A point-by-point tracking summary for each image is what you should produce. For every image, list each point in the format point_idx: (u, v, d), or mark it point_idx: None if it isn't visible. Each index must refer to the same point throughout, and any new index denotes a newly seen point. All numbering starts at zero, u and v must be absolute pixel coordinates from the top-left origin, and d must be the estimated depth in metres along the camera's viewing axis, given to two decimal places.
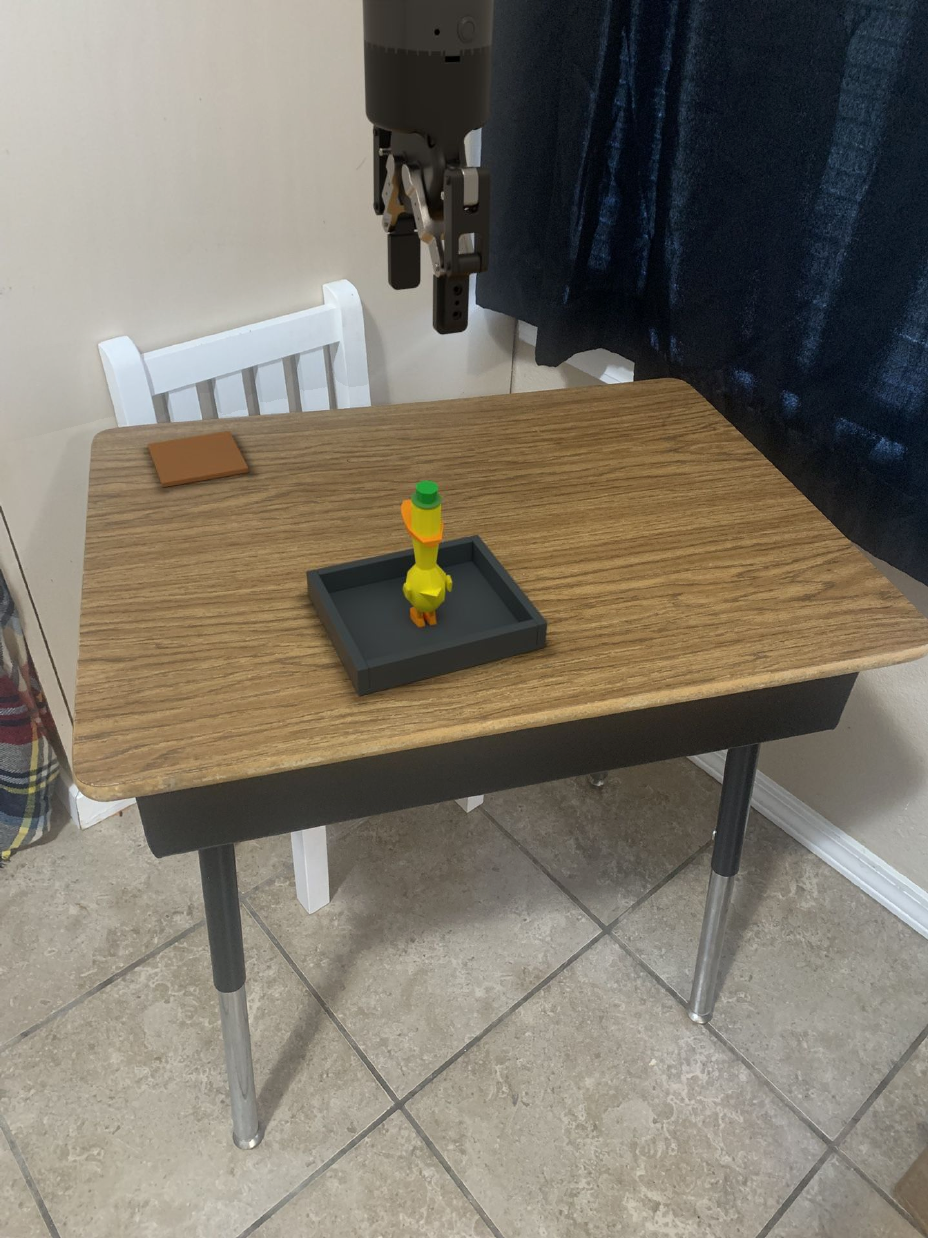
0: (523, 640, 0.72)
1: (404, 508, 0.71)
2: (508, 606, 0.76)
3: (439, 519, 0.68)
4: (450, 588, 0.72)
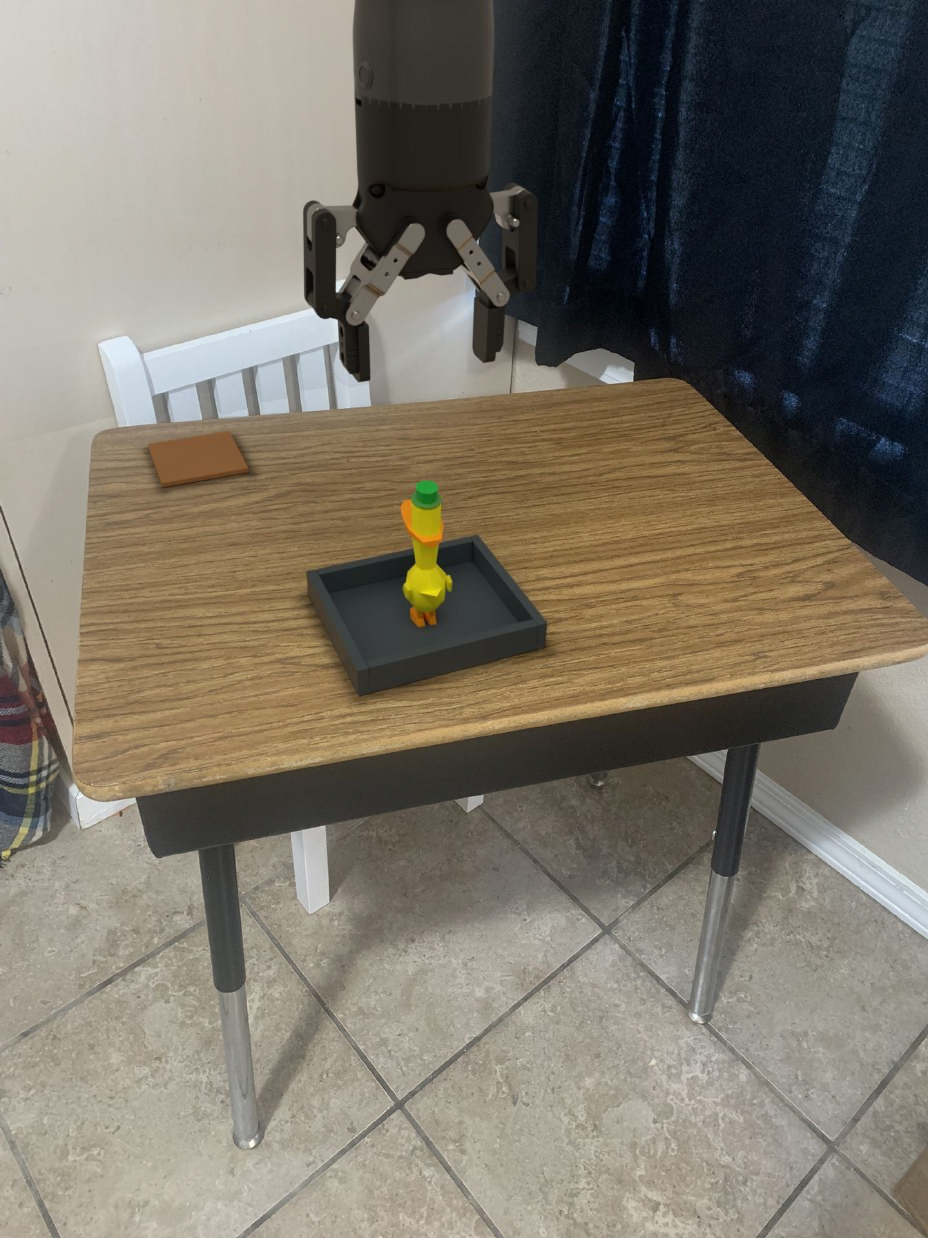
0: (523, 640, 0.72)
1: (404, 508, 0.71)
2: (508, 606, 0.76)
3: (439, 519, 0.68)
4: (450, 588, 0.72)
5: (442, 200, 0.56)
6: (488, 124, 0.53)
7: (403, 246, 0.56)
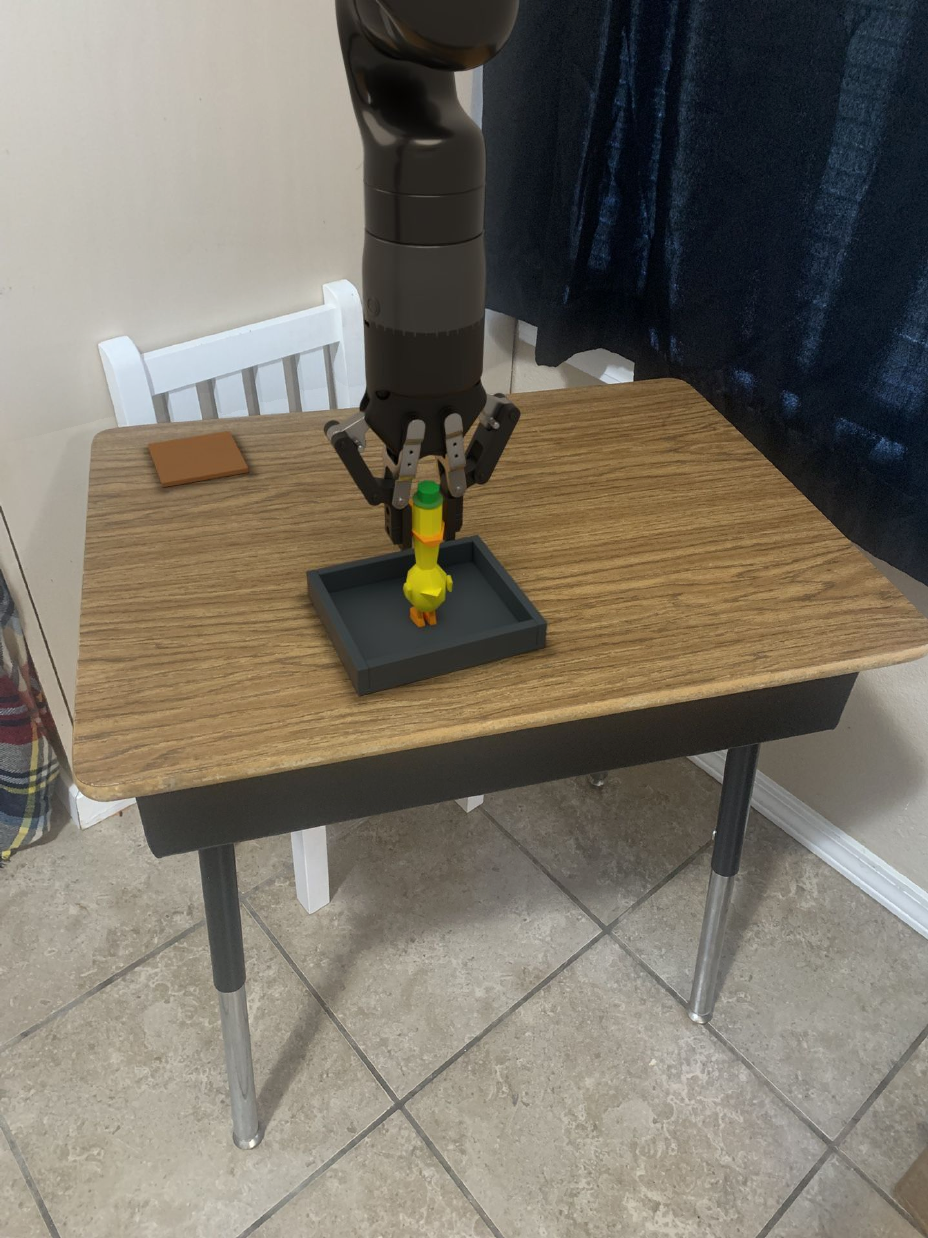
0: (523, 640, 0.72)
1: None
2: (508, 606, 0.76)
3: (440, 519, 0.68)
4: (450, 588, 0.72)
5: None
6: (481, 339, 0.60)
7: (406, 438, 0.63)
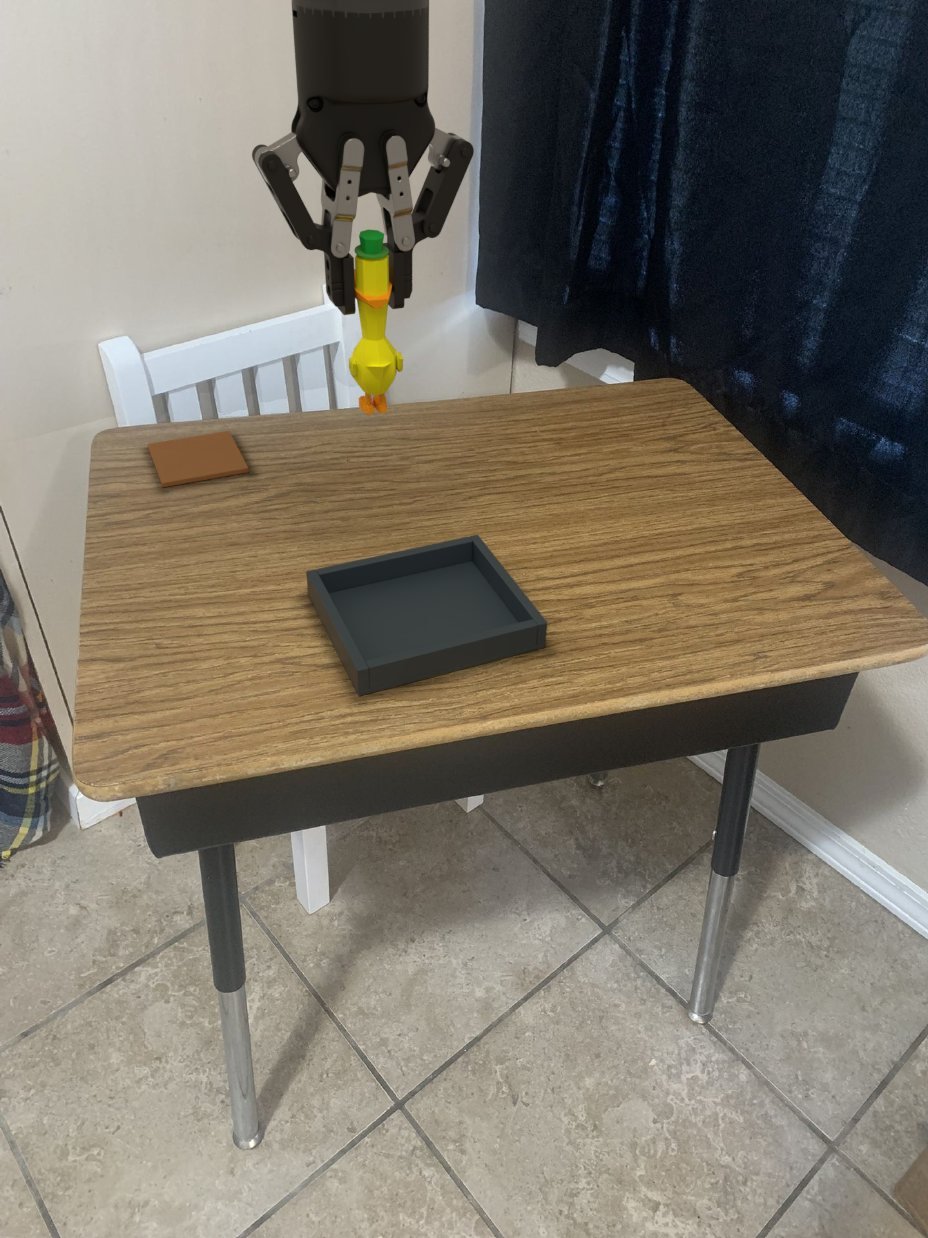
0: (523, 640, 0.72)
1: None
2: (508, 606, 0.76)
3: (386, 275, 0.62)
4: (401, 366, 0.66)
5: (382, 116, 0.56)
6: (424, 37, 0.54)
7: (342, 161, 0.56)
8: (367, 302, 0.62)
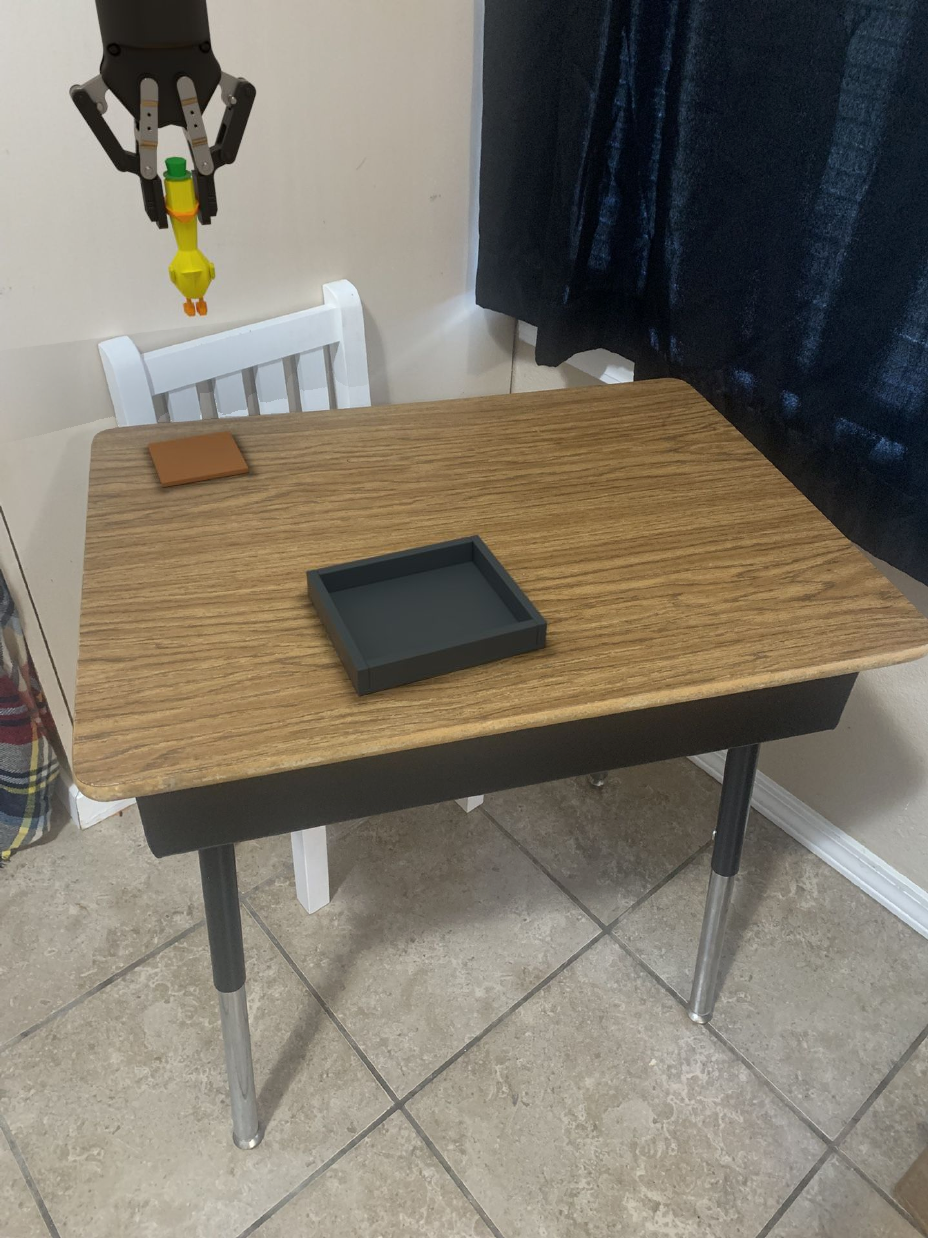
0: (523, 640, 0.72)
1: None
2: (508, 606, 0.76)
3: (190, 195, 0.75)
4: (213, 274, 0.79)
5: (172, 60, 0.70)
6: None
7: (140, 97, 0.70)
8: (175, 217, 0.75)
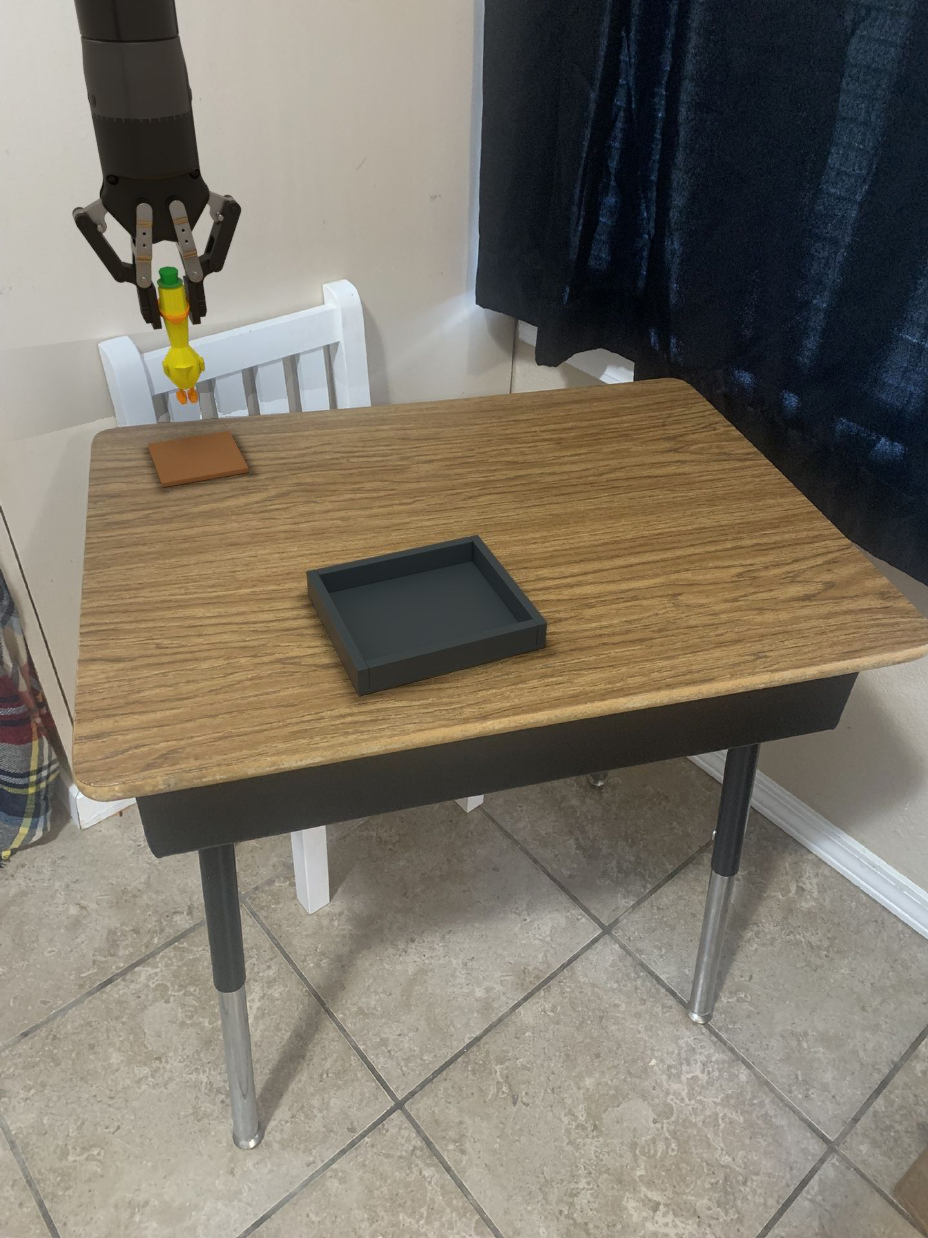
0: (523, 640, 0.72)
1: None
2: (508, 606, 0.76)
3: (182, 300, 0.83)
4: (203, 367, 0.87)
5: (165, 186, 0.78)
6: (187, 132, 0.75)
7: (136, 219, 0.77)
8: (168, 320, 0.83)
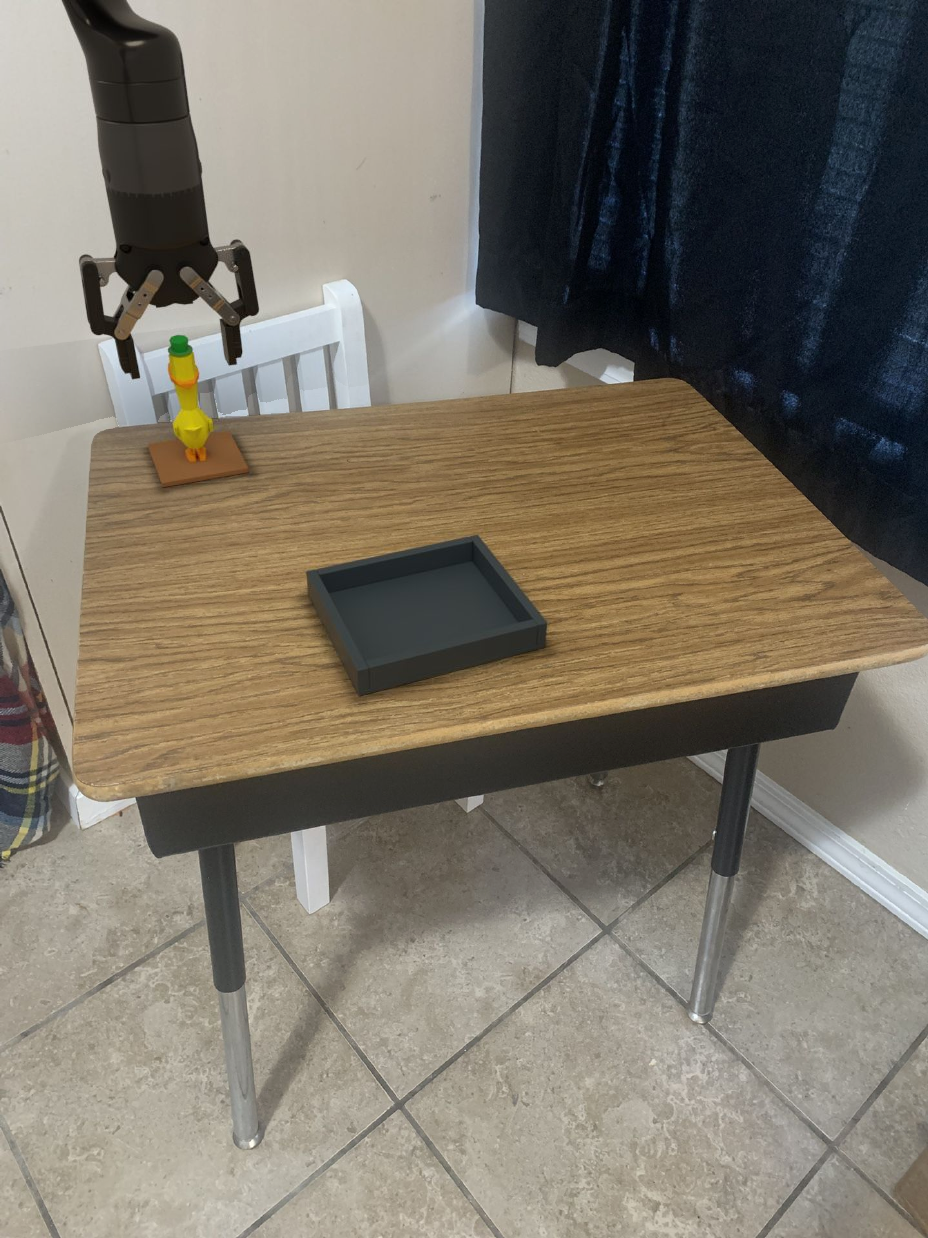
0: (523, 640, 0.72)
1: None
2: (508, 606, 0.76)
3: (192, 366, 0.87)
4: (211, 428, 0.91)
5: (176, 253, 0.81)
6: (197, 204, 0.78)
7: (148, 285, 0.81)
8: (179, 385, 0.87)
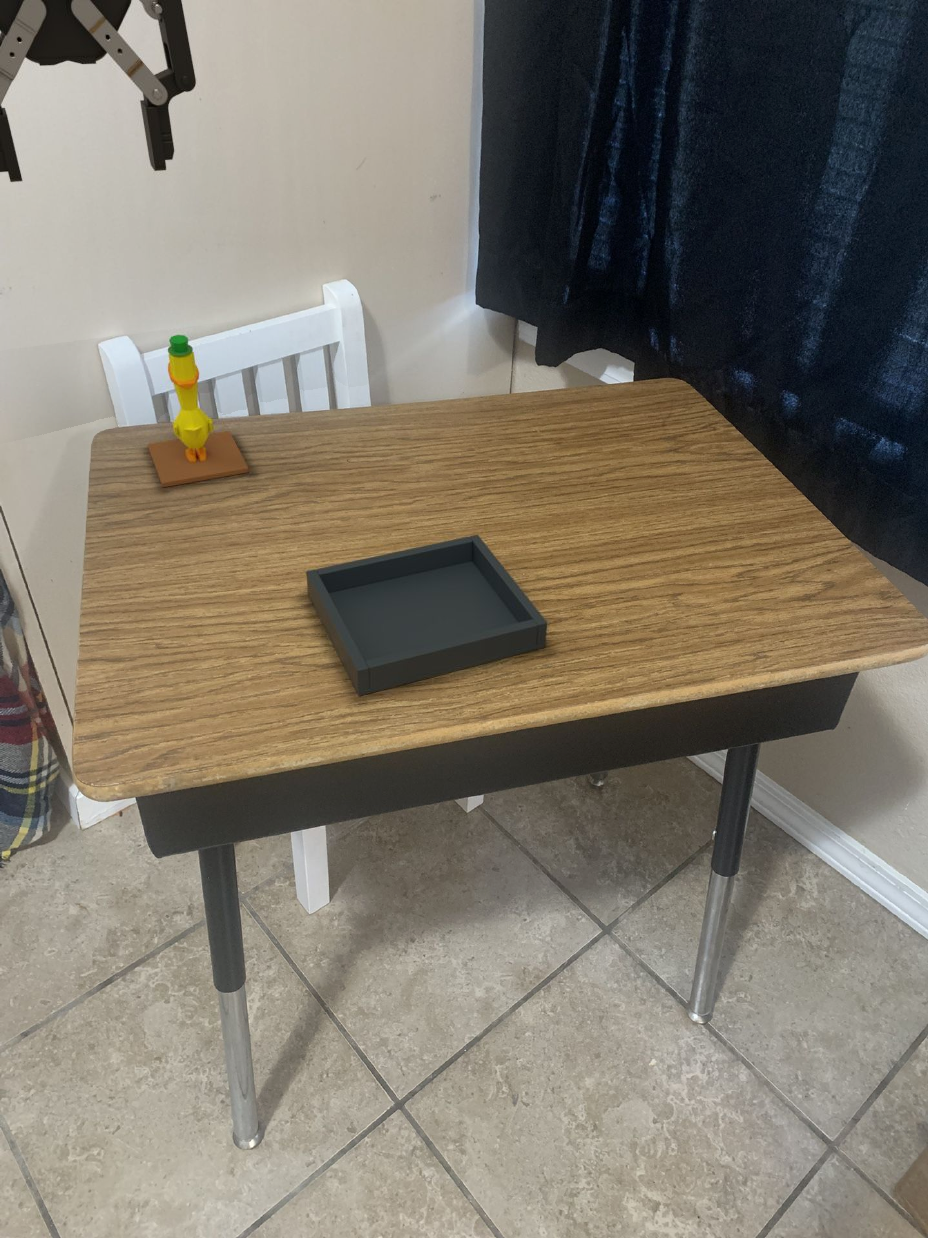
0: (523, 640, 0.72)
1: None
2: (508, 606, 0.76)
3: (192, 366, 0.87)
4: (211, 428, 0.91)
5: None
6: None
7: (23, 22, 0.54)
8: (179, 385, 0.87)
